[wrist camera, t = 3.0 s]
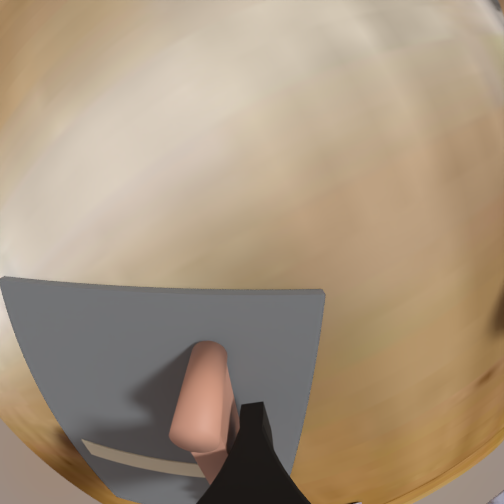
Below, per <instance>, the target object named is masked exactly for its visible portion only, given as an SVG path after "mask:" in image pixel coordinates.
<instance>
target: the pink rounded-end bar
mask: <svg viewBox="0 0 504 504" xmlns="http://www.w3.org/2000/svg"><path fill="white" fill-rule="evenodd" d="M239 428H240V424H239V416H238V412H237V407H236V403H235V399H234V394H233V390H232V386H231V381H230V377H229V372H228V367H227V352H226V350H225V348H224V347H223V346H222V345H220V344H219V343H217V342H214V341H201V342H199V343H197V344H196V345H195V346H194V347H193V349H192V352H191V356H190V359H189V363H188V366H187V370H186V373H185V377H184V380H183V384H182V387H181V391H180V395H179V398H178V402H177V406H176V409H175V413H174V417H173V421H172V424H171V428H170V432H169V438H170V440H171V441H172V442H173V443H174V444H175V445H176V446H178V447H180V448H182V449H184V450H187V451H190V452H191V453H192V455H193V457H194V458H195V460H196V462H197V464H198V466H199V467H200V469H201V471H202V472H203V474H204V476H205V478H206V479H207V481H208V483H209V484H210V485H211V484H212V482H213V481H214V479H215V478H216V476H217V474H218V473H219V471H220V469H221V468H222V466H223V464H224V462H225V460H226V458H227V456H228V454H229V452H230V450H231V448H232V446H233V444H234V441H235V439H236V436H237V434H238V431H239Z"/></svg>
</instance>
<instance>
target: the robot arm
mask: <svg viewBox="0 0 504 504" xmlns="http://www.w3.org/2000/svg"><path fill="white" fill-rule="evenodd" d="M239 424H240V428H239V431H238V434H237V436H236V439H235V441H234V444H233V446H232V448H231V450H230V452H229V454H228V456H227V458H226V460H225V462H224V464H223V466H222V468H221V469H220V471H219V473H218V474H217V476H216V478H215V479H214V481H213V482H212V484H211V485H210V486H209V488H208V489H207V490H206V492H205V493H204V494H203V496H202V497H201V498H200V499H199V501H198V502H197V503H196V504H311V503H310V502H309V501H308V500H307V498H306V497H305V496H304V495H303V494H302V492H301V491H300V490H299V489H298V487H297V486H296V485H295V483H294V482H293V480H292V479H291V478H290V476H289V475H288V473H287V472H286V470H285V468H284V467H283V465H282V463H281V462H280V460H279V458H278V456H277V455H276V453H275V451H274V446H273V438H272V430H271V426H270V423H269V419H268V416H267V412H266V409H265V405H264V402H263V401H262V402H255V403H248V404H241V409H240V417H239ZM355 504H362V503H361V502H359V503H355ZM487 504H504V490H503V491H502V492H501V493H499V494H498V495H497V496H496V497H494V498H493V499H492V500H490V501H489V502H488V503H487Z"/></svg>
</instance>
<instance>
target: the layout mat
mask: <svg viewBox="0 0 504 504" xmlns="http://www.w3.org/2000/svg"><path fill="white" fill-rule="evenodd" d="M0 287H1V291H2V295H3V299H4V302H5V306H6V309H7V312H8V315H9V318H10V321H11V324H12V327H13V330H14V333H15V336H16V338H17V341H18V343H19V346H20V348H21V351H22V353H23V356H24V358H25V360H26V363H27V365H28V367H29V369H30V371H31V374H32V376H33V378H34V380H35V382H36V384H37V386H38V388H39V390H40V391H41V393H42V395H43V397H44V399H45V401H46V403H47V404H48V406H49V408H50V409H51V411H52V413H53V415H54V416H55V418H56V419H57V421H58V423H59V424H60V426H61V427H62V429H63V430H64V432H65V433H66V435H67V436H68V438H69V439H70V441H71V442H72V444H73V445H74V446H75V448H76V449H77V450H78V452H79V453H80V454H81V456H82V457H83V458H84V460H85V461H86V462H87V464H88V465H89V466H90V467H91V468H92V470H93V471H94V472H95V473H96V474H97V476H98V477H99V478H100V479H101V480H102V481H103V483H104V484H105V485H106V486H107V487H108V488H109V489H110V490H111V491H112V492H113V493H114V494H115V495H116V497H119V498H123V499H126V500H130V501H134V502H138V503H142V504H196V503H197V502H198V501H199V499H200V498H201V497H202V496H203V494H204V493H205V492H206V490H207V489H208V488H209V486H210V484H209V483H208V481H207V479H206V478H205V476H204V474H203V472H202V471H201V469H200V467H199V466H198V464H197V462H196V460H195V458H194V457H193V455H192V453H191V452H190V451H187V450H184V449H182V448H180V447H178V446H176V445H175V444H174V443H173V442H172V441H171V440H170V438H169V432H170V428H171V424H172V421H173V417H174V413H175V409H176V406H177V402H178V398H179V395H180V391H181V387H182V384H183V380H184V377H185V373H186V370H187V366H188V363H189V359H190V356H191V352H192V349H193V347H194V346H195V345H196V344H197V343H199V342H201V341H214V342H217V343H219V344H220V345H222V346H223V347H224V348H225V350H226V352H227V367H228V372H229V377H230V381H231V386H232V390H233V394H234V399H235V403H236V407H237V412H238V416H239V417H240V409H241V404H248V403H255V402H262V401H263V402H264V405H265V409H266V412H267V416H268V419H269V423H270V426H271V430H272V438H273V446H274V451H275V453H276V455H277V456H278V458H279V460H280V462H281V463H282V465H283V467H284V468H285V470H286V472H287V473H288V475H289V476H290V474H291V470H292V466H293V463H294V459H295V455H296V451H297V448H298V444H299V440H300V436H301V431H302V427H303V423H304V418H305V414H306V409H307V405H308V400H309V395H310V390H311V385H312V379H313V374H314V369H315V363H316V357H317V351H318V345H319V338H320V332H321V325H322V318H323V310H324V303H325V293H324V291H323V290H322V289H299V290H227V289H181V288H153V287H131V286H113V285H97V284H82V283H69V282H57V281H45V280H34V279H24V278H15V277H6V276H4V277H2V278H0Z"/></svg>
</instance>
